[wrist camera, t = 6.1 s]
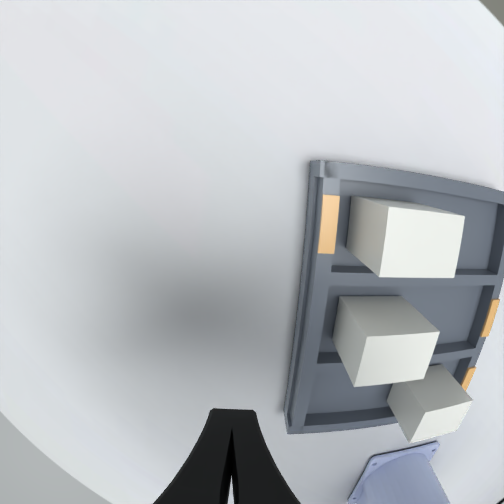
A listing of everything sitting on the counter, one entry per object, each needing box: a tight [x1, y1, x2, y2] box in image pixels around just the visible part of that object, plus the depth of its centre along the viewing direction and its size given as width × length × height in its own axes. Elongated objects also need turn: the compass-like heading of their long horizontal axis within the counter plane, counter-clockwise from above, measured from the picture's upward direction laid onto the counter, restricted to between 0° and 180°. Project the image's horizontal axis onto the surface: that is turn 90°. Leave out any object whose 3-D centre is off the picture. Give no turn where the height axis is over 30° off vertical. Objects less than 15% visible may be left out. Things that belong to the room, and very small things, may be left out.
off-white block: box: [332, 296, 440, 387], centre depth 15 cm, size 3×4×4 cm
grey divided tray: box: [284, 160, 504, 434], centre depth 17 cm, size 17×14×3 cm
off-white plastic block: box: [346, 196, 465, 278], centre depth 14 cm, size 3×4×4 cm
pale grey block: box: [387, 364, 473, 443], centre depth 17 cm, size 3×4×4 cm
